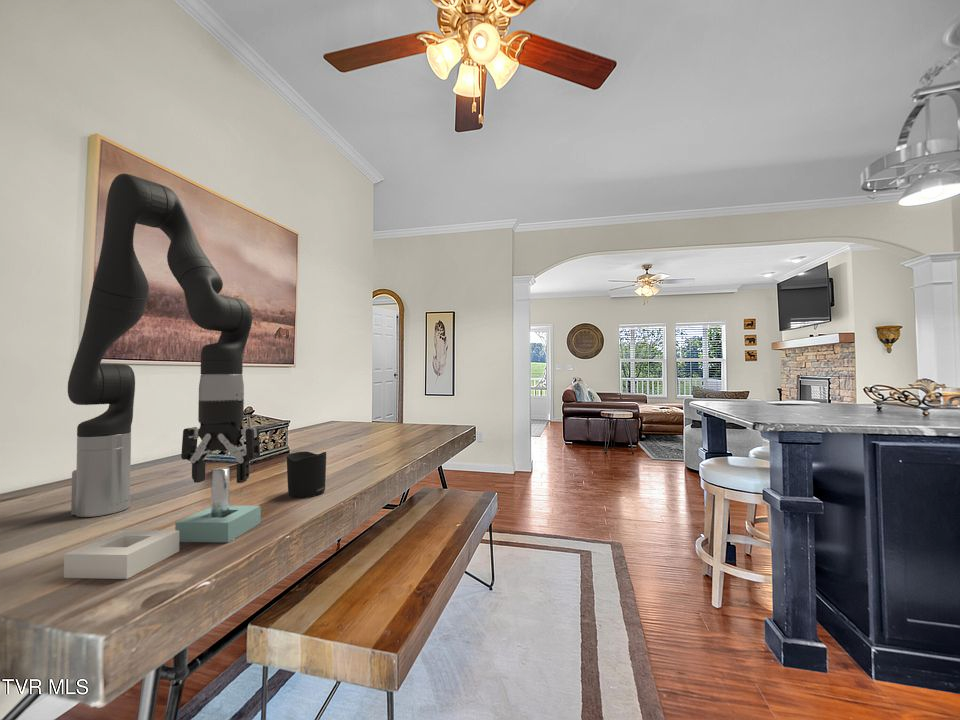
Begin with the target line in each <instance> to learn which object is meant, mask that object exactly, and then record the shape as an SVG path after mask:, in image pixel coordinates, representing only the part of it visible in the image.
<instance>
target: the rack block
mask: <svg viewBox="0 0 960 720" xmlns="http://www.w3.org/2000/svg"><path fill="white" fill-rule="evenodd" d="M261 509H262V508H261V505H229V515H228V516H226V517H224V518H211V506H209V507H207V508H204V509H203V510H200V511H198V512H196V513H194V514H191V515H188V516H187V517H184V518H182V519H180V520H177V521H175V522H174V523H175V526H174V527H175V530H179V543H230V542H231V541H233V540H235V539H236V538H238V537H239V536H242V535H243V534H245V533H246V532H248V531H250V530H252V529H253V528H255V527H257V526H258V525H260V524H261V522H262V521H261V519H262V517H261V513H262V511H261Z"/></svg>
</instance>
